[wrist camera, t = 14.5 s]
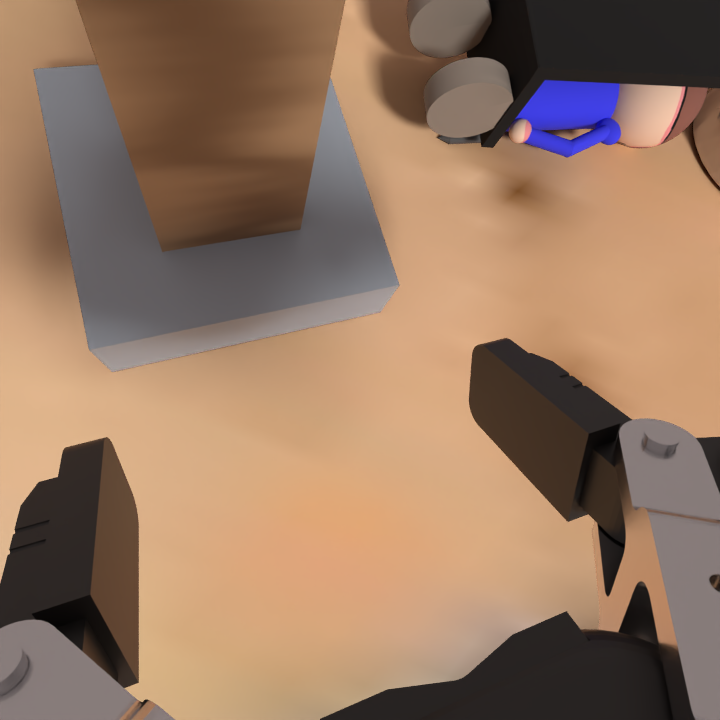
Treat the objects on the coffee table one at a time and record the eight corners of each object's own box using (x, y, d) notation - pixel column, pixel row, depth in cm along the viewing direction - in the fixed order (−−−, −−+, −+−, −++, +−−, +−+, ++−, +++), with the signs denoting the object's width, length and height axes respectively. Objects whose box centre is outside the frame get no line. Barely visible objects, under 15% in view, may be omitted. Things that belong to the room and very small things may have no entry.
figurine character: (406, 193, 26) (677, 179, 28) (444, 75, 19) (811, 67, 20) (389, 82, 28) (646, 76, 30) (418, -67, 20) (759, -63, 22)
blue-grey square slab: (312, 101, 24) (320, 48, 22) (380, 312, 22) (399, 285, 19) (61, 125, 21) (33, 68, 19) (112, 372, 19) (89, 349, 17)
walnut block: (267, 117, 20) (285, -218, 11) (300, 229, 19) (351, -32, 10) (134, 130, 19) (20, -240, 9) (162, 251, 18) (66, -26, 8)
